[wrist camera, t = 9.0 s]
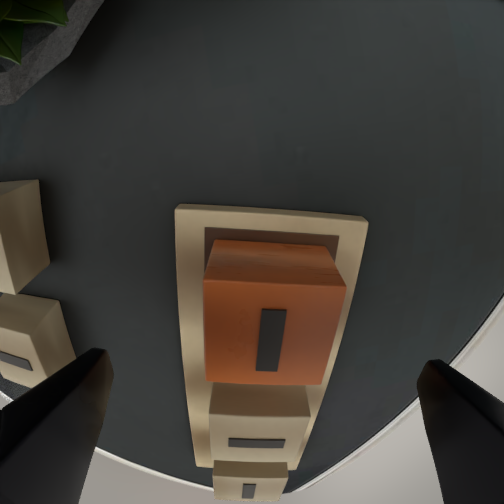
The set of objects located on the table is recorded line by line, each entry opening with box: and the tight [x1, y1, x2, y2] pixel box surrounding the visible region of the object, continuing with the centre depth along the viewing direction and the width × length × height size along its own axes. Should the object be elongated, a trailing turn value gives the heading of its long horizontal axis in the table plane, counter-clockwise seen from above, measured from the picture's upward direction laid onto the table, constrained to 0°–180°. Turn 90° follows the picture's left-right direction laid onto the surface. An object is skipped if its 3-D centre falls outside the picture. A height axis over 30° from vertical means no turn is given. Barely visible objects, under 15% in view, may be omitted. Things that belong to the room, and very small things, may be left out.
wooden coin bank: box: [202, 239, 347, 385], centre depth 11 cm, size 4×4×3 cm
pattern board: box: [175, 204, 368, 470], centre depth 15 cm, size 18×7×1 cm, turn 176°
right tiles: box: [208, 382, 311, 501], centre depth 14 cm, size 10×4×3 cm, turn 176°
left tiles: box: [0, 179, 76, 388], centre depth 11 cm, size 10×4×3 cm, turn 176°
